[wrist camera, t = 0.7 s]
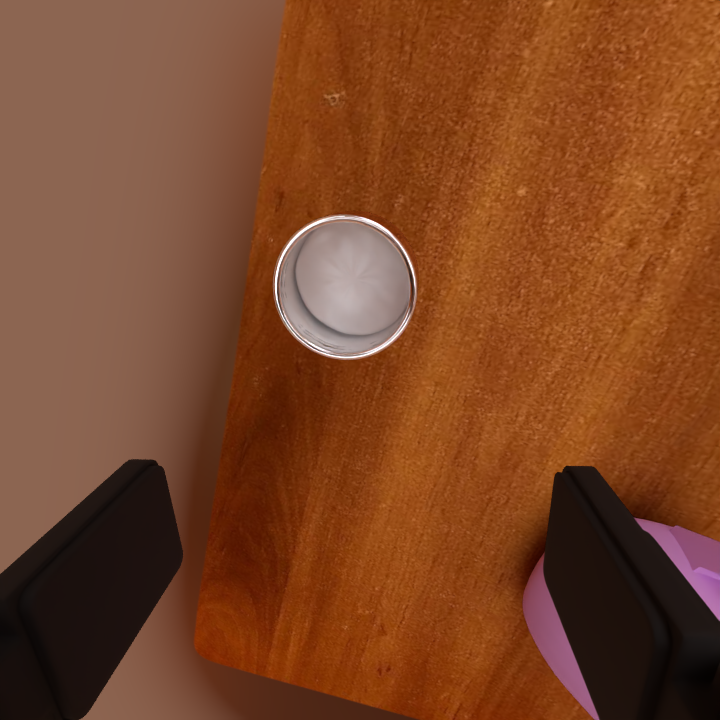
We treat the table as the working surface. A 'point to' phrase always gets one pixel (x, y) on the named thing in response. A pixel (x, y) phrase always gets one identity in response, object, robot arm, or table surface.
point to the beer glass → (346, 284)
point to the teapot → (685, 548)
